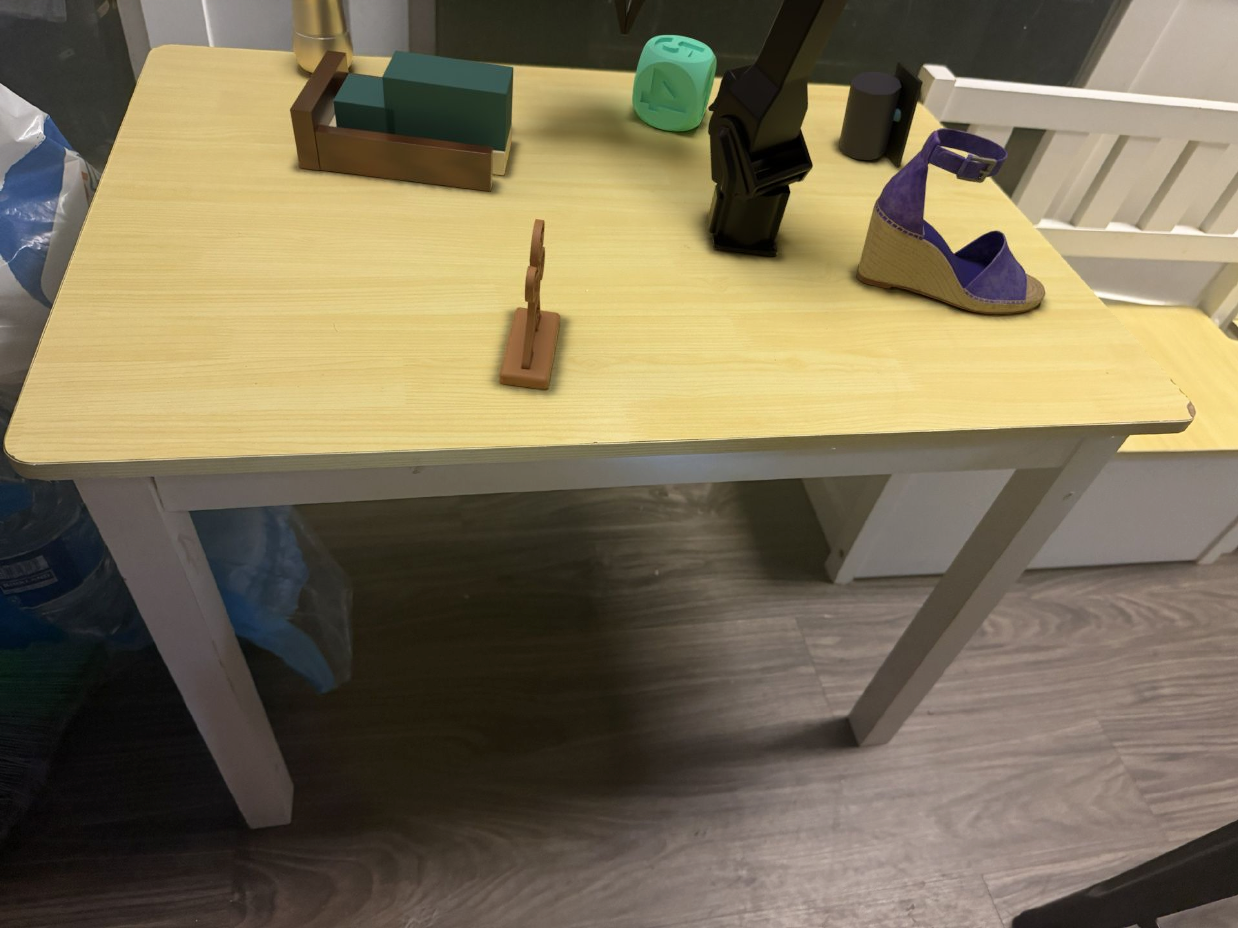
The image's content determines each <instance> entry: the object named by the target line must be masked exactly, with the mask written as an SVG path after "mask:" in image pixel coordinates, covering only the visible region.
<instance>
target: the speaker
mask: <svg viewBox="0 0 1238 928" xmlns="http://www.w3.org/2000/svg"><path fill="white" fill-rule="evenodd" d="M923 83H924V82H923V80H921V79H920V78H919V77H918V76H917V75H916V74H915V73H914V72H913V71H912V70H911V69H910V68H909V67H907V66H906V64H904V63H903V62H902V61H897V64H896V68H895V72H894V75H891V74H889V73H885V72H883V71H864V72H860V73H858V74H857V75H855V76H854V77H853V78H851V81H850V86H849V91H848V96H847V101H846V106H845V107H846V108H845V111H844V116H843V122H842V126H841V132H840V135H839V142H838V145H839V151H840V152H841V153H842V154H843V155H844V156H848V157H850V158H853V159H856V160H871V161H873V160H876V159H879V158H880V157H881V156H883V155H885V156H886V157H887V158H888V159H889V160H890V161H891V163H892V164H893V165H894V166H895V167H896V168H900V167H901V166H902V162H903V157H904V154H905V149H906V146H907V142H908V139H909V136H910V132H911V127H912V123H913V120H914V116H915V114H916V109H917V106H918V101H919V99H920V98H919V97H920V95H921V91H922V87H923Z"/></svg>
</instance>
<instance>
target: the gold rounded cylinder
mask: <svg viewBox="0 0 1238 928" xmlns="http://www.w3.org/2000/svg"><path fill="white" fill-rule="evenodd" d="M290 1H291V17H292V27H291V48H292V51H293V54H294V56H295V61H296V62H297V63H298V64H299V66H300V67H301V68H302V69H303V70H305V71H306V72H308V73H311V74H313V72H314V70H315V69H316V67H317V66H318V64H319V62H320V61H321V59H322V58H323V56H324V55H325V53H326V51H327V50H330V51H337V52H344V53H346V55H347V64H348V69H349V68H350V67H351V65H352V63H353V58H354V44H353V40H352V35H351V32H350V28H349V26H348V22H347V16H346V10H345V5H344V0H290Z"/></svg>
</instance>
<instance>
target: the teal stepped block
mask: <svg viewBox="0 0 1238 928" xmlns="http://www.w3.org/2000/svg"><path fill="white" fill-rule="evenodd" d="M385 68H386V69H385V70H384V72H383V74H382V76H381V77H382V78H377V77H370V76H363V75H356V74H357V73H356V74H348V76H347V78H346V79H345V81H344V83H343V85H342V86H341V88H340V90H339V92H338V93H337V95H336V97H335V98H334V100H333V103H334V110H335V115H334V117H333V119H332V120H331V122H330V124H329V126H334V127H341V128H349V129H357V130H364V131H372V132H380V133H388V134H395V135H403V136H411V137H418V138H426V139H434V140H441V141H449V142H457V143H465V144H472V145H480V146H488V147H493V175H496V176H497V175H498V176H505V173H506V169H507V164H508V161H509V156H510V152H511V151H510V150H511V146H512V136H513V135H512V133H513V132H512V131H513V97H514V96H513V95H514V66H510V65H503V64H502V65H501V64H496V63H488V62H480V61H475V60H474V61H473V60H466V59H461V58H452V57H445V56H439V55H432V54H431V55H430V54H424V53H416V52H410V51H403V50H401V51H400V50H394V52H393V55H392V56H391V58H390V61H389V62H388V64H387V66H386V67H385Z"/></svg>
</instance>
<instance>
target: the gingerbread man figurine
mask: <svg viewBox="0 0 1238 928" xmlns="http://www.w3.org/2000/svg"><path fill="white" fill-rule="evenodd" d="M545 228H546V227H545V220H544V219H538V218H535V220H534V223H533V228H532V234H531V242H530V248H529V249H530V251H529V265H528V266H527V268H526V274H525V282H524V301H525V302H526V303H527V307H520V306H519V307H516V308H515V310H514V314H513V318H512V323H511V327H510V331H509V334H508V339H507V342H506V347H505V351H504V355H503V359H502V363H501V366H500V372H499V383H500V384H502V385H509V386H516V387H522V388H531V389H538V390H547V389H549V385H550V380H551V379H550V378H551V375H552V374H551V373H552V368H553V362H554V357H555V352H556V347H557V340H558V335H559V330H560V324H561V315H560V313H558V312H556V311H555V312H554V311H549V310H541V283H542V282H541V281H543V279H544V272H545V263H546V261H545V260H546V247H545V246H544V241H545Z"/></svg>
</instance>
